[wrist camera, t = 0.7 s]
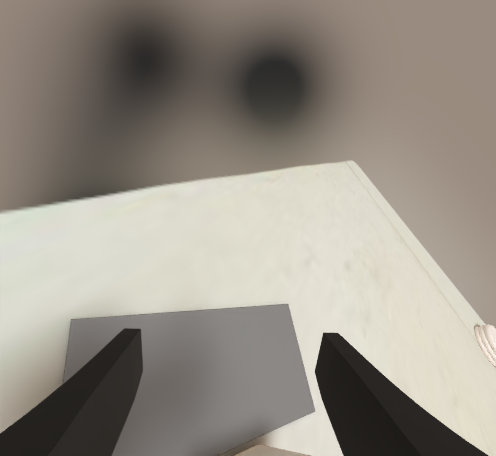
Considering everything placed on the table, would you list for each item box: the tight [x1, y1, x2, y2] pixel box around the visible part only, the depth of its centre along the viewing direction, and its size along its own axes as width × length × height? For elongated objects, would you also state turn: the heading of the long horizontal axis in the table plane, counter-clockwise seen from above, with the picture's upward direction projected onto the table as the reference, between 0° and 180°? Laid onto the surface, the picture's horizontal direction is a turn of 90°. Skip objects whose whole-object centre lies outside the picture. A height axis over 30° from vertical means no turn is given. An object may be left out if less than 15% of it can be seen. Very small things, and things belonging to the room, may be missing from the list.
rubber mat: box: [63, 304, 315, 456], centre depth 24 cm, size 12×24×1 cm, turn 103°
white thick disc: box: [474, 325, 496, 367], centre depth 65 cm, size 10×10×4 cm
